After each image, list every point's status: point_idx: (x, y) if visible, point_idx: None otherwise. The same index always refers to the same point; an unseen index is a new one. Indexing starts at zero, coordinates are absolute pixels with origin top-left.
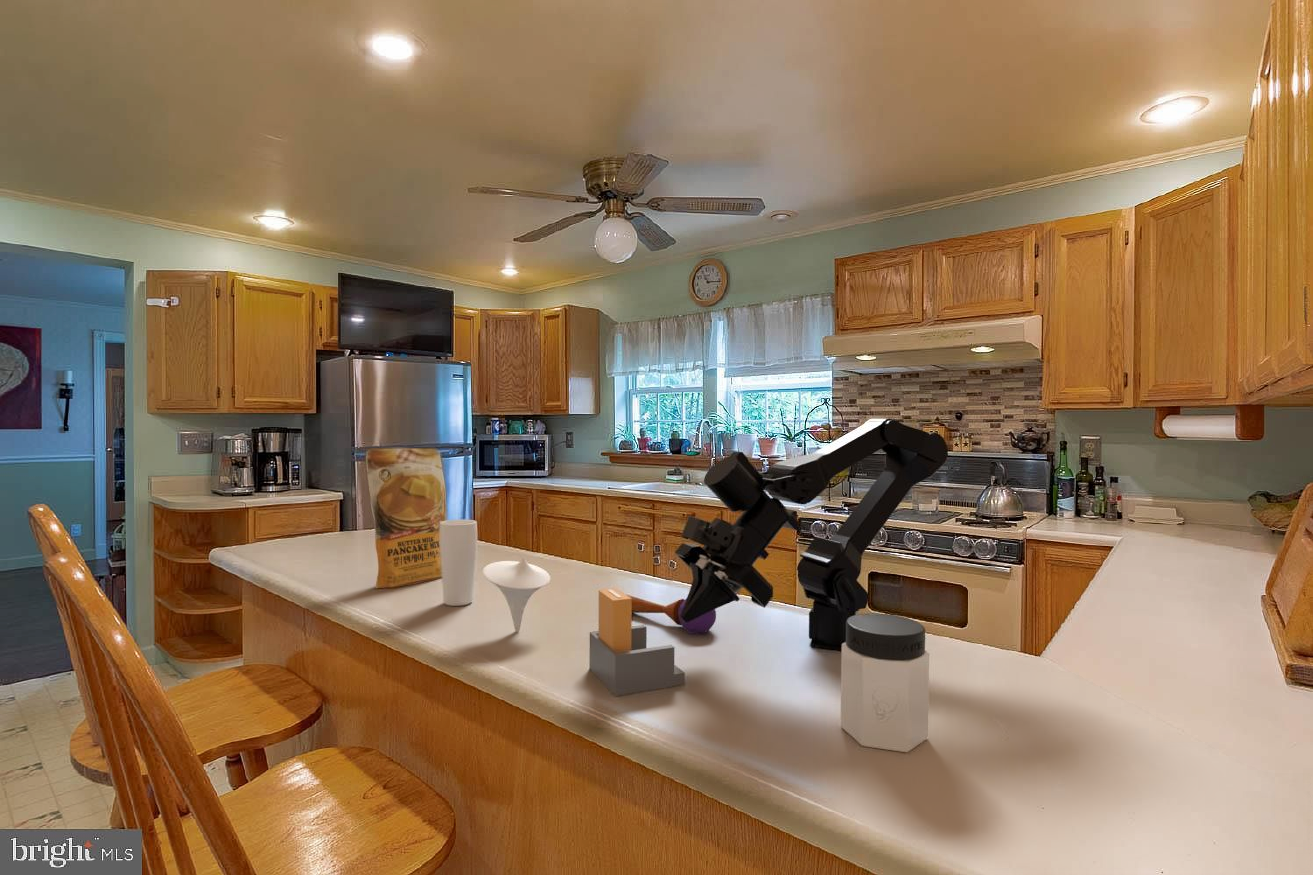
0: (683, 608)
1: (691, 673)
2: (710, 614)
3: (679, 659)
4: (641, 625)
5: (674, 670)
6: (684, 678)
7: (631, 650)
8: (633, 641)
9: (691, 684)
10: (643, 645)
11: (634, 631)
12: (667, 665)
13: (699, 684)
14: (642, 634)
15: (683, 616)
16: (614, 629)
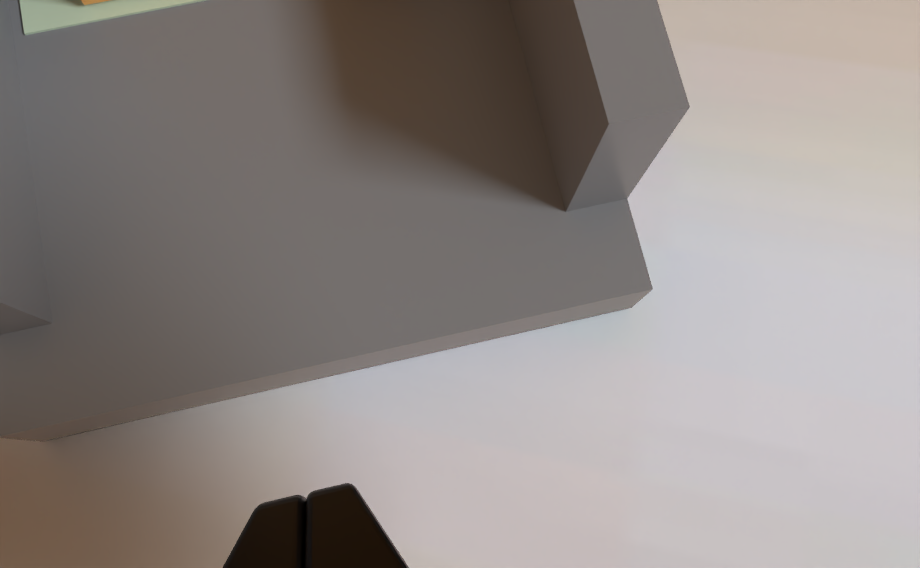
0: (377, 563)
1: None
2: None
3: (584, 525)
4: (668, 78)
5: (71, 359)
6: (22, 437)
7: (531, 67)
8: (546, 47)
9: (29, 495)
10: (569, 165)
11: (568, 7)
12: None
13: (11, 561)
14: (584, 112)
15: (248, 521)
16: None
